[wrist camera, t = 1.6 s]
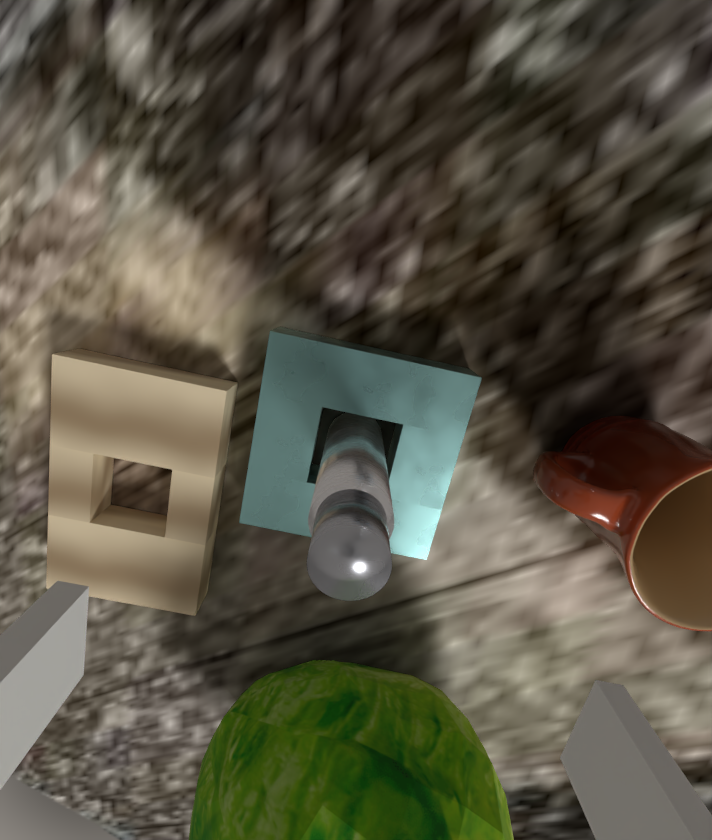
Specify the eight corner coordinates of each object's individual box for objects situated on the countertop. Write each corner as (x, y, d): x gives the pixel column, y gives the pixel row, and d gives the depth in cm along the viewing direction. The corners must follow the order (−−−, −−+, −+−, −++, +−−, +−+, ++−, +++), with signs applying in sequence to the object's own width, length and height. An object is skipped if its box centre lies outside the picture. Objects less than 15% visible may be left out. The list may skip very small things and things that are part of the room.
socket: (279, 326, 27) (270, 330, 24) (469, 368, 28) (481, 377, 25) (250, 500, 30) (239, 522, 27) (420, 534, 31) (426, 559, 28)
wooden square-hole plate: (78, 348, 28) (52, 353, 25) (238, 382, 28) (226, 391, 26) (69, 565, 32) (46, 588, 30) (207, 591, 32) (195, 616, 30)
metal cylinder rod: (333, 405, 28) (308, 509, 15) (387, 417, 29) (411, 530, 15) (322, 457, 29) (290, 597, 16) (375, 468, 30) (387, 616, 16)
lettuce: (385, 842, 40) (403, 1228, 23) (173, 676, 35) (6, 1020, 18) (557, 738, 36) (721, 1109, 20) (348, 534, 31) (334, 807, 15)
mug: (698, 421, 28) (876, 491, 19) (634, 536, 31) (763, 652, 21) (525, 366, 28) (616, 409, 18) (473, 489, 30) (529, 586, 20)
